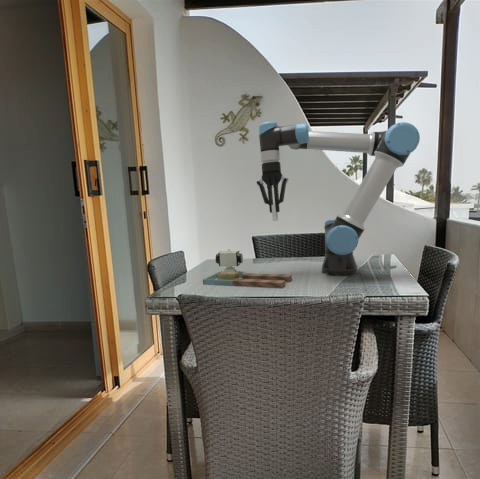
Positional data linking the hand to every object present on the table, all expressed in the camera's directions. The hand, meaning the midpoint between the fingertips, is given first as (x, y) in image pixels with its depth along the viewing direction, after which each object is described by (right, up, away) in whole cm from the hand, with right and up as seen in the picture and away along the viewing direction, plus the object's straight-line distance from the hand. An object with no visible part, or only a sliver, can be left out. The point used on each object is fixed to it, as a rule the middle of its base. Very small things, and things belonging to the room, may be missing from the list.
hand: (275, 220), depth 146 cm
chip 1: (-21, -25, +2) cm, 33 cm away
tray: (-21, -26, +2) cm, 33 cm away
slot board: (-6, -26, -5) cm, 27 cm away
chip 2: (-18, -25, 0) cm, 31 cm away
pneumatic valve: (-19, -24, +17) cm, 35 cm away
